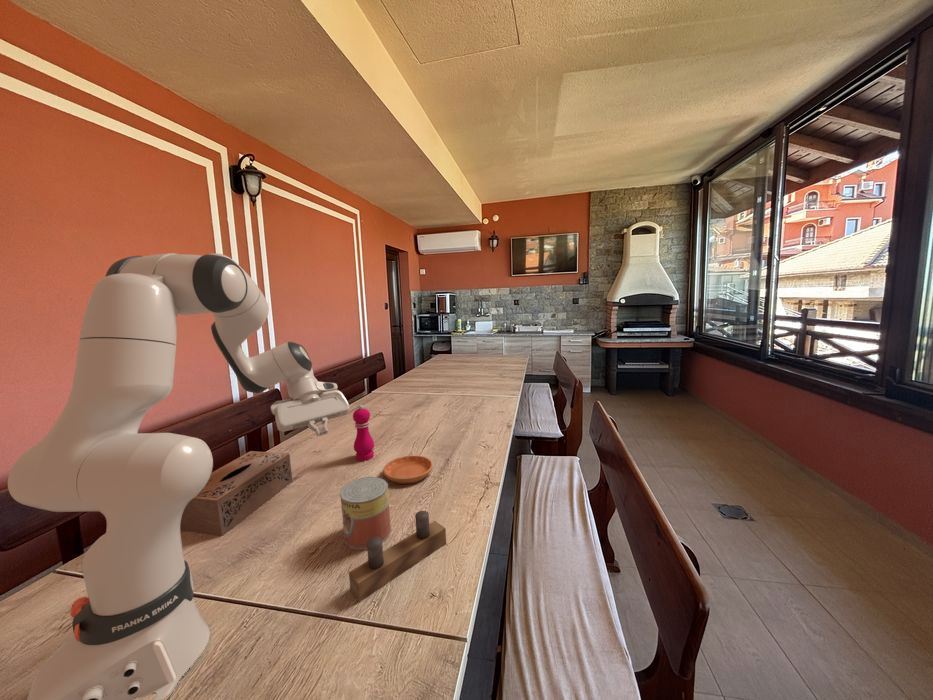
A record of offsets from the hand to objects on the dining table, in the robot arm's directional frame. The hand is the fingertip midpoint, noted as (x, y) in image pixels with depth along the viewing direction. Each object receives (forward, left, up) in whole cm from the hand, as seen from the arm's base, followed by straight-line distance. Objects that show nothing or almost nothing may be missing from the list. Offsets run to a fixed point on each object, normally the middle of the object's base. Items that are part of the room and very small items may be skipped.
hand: (322, 434), depth 100 cm
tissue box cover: (-19, +17, -20) cm, 32 cm away
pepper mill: (+20, +16, -20) cm, 33 cm away
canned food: (0, -23, -20) cm, 30 cm away
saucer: (+24, -6, -20) cm, 32 cm away
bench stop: (0, -38, -20) cm, 43 cm away
